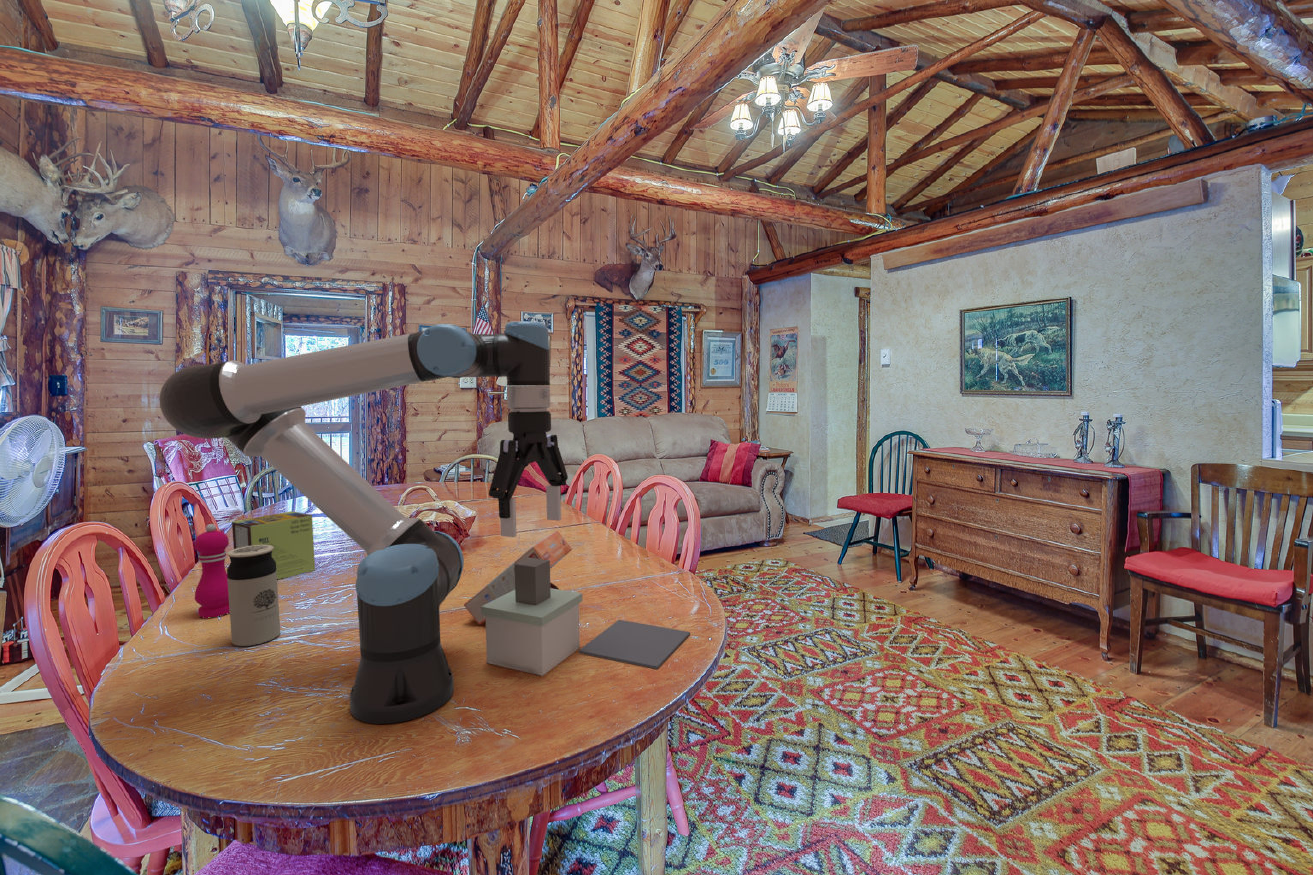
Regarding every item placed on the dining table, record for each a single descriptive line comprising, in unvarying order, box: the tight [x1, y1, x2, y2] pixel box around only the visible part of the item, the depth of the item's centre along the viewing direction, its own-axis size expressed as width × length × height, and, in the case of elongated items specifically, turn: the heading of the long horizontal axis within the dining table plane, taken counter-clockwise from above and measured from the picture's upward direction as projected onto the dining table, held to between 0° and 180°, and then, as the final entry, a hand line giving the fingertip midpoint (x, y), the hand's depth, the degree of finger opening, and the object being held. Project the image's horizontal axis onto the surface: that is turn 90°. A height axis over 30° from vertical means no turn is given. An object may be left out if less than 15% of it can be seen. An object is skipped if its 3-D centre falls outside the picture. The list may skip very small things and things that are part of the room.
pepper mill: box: [194, 523, 230, 619], centre depth 130 cm, size 7×7×20 cm
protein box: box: [231, 510, 316, 580], centre depth 157 cm, size 10×15×16 cm
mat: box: [578, 619, 691, 670], centre depth 114 cm, size 16×16×1 cm
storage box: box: [485, 603, 581, 677], centre depth 109 cm, size 12×12×9 cm
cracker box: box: [463, 530, 573, 626], centre depth 127 cm, size 14×6×21 cm
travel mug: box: [226, 545, 281, 647], centre depth 116 cm, size 8×8×18 cm
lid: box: [481, 558, 583, 626], centre depth 108 cm, size 13×13×10 cm
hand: (532, 527), depth 107 cm, fingers open, 13 cm apart
